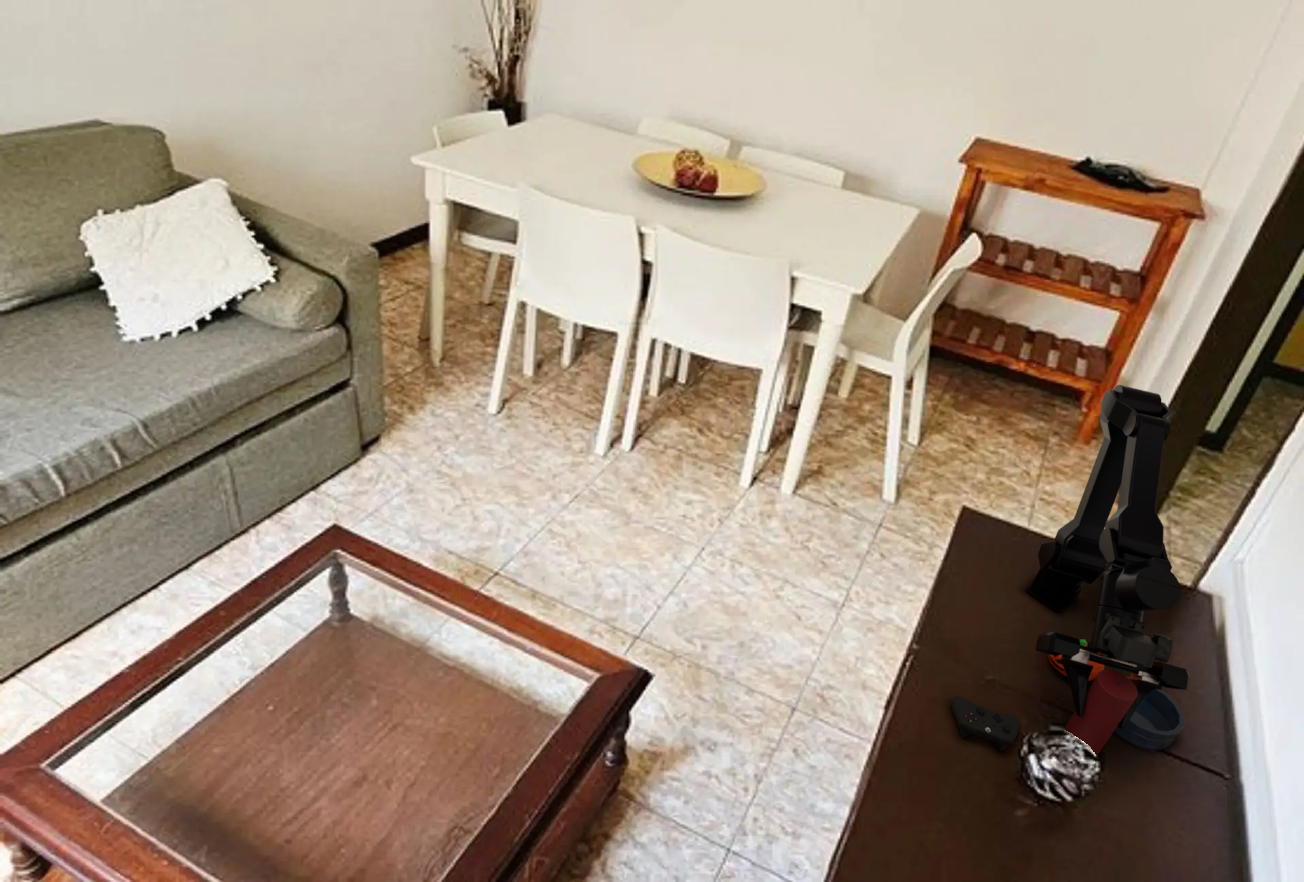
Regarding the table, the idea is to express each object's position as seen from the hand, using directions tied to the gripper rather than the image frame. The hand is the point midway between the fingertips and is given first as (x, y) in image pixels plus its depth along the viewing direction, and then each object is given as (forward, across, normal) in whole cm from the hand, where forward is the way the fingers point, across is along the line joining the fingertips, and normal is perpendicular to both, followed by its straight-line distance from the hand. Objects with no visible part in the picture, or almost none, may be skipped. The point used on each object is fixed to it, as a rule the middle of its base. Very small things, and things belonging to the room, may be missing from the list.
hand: (1099, 722), depth 120 cm
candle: (+4, 0, +6) cm, 7 cm away
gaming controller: (+6, -14, +4) cm, 16 cm away
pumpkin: (-7, +1, +17) cm, 18 cm away
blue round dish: (-2, +10, +12) cm, 15 cm away
